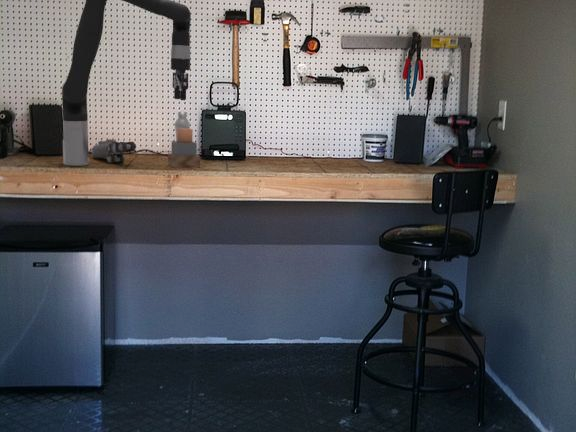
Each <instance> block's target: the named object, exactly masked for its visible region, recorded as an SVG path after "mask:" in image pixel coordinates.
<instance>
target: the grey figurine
mask: <svg viewBox="0 0 576 432" xmlns="http://www.w3.org/2000/svg"><path fill="white" fill-rule="evenodd" d="M177 117H178V118H177V119H176V121H175V122H174V128H175V141H177V129H181V128H184V129H191V123H190V122H189V120H188V118H187V117H188V112H187V111H178V112H177Z"/></svg>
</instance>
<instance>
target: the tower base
mask: <svg viewBox="0 0 576 432" xmlns="http://www.w3.org/2000/svg"><path fill="white" fill-rule="evenodd" d="M167 165H168V166H169V167H171V166H172V168H175V169H188V168H189V169H191V168H190V167H201V156H200V155H199V154H196V156H176V155H173V154H172V152H170V153H167Z"/></svg>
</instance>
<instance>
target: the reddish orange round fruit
mask: <svg viewBox="0 0 576 432" xmlns="http://www.w3.org/2000/svg"><path fill="white" fill-rule="evenodd" d="M193 131H194V130H193V128H190V129H184V128H181V129H177V142H181V143H191V142H192V141H193V134H194V132H193Z"/></svg>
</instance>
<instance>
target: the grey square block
mask: <svg viewBox="0 0 576 432" xmlns="http://www.w3.org/2000/svg"><path fill="white" fill-rule="evenodd" d="M197 148H198V147H197V142H195V141H193V140H192V142H191V143H181V142H177V141H176V140H171V153H172V154H173V155H176V156H196V155H197Z"/></svg>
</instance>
